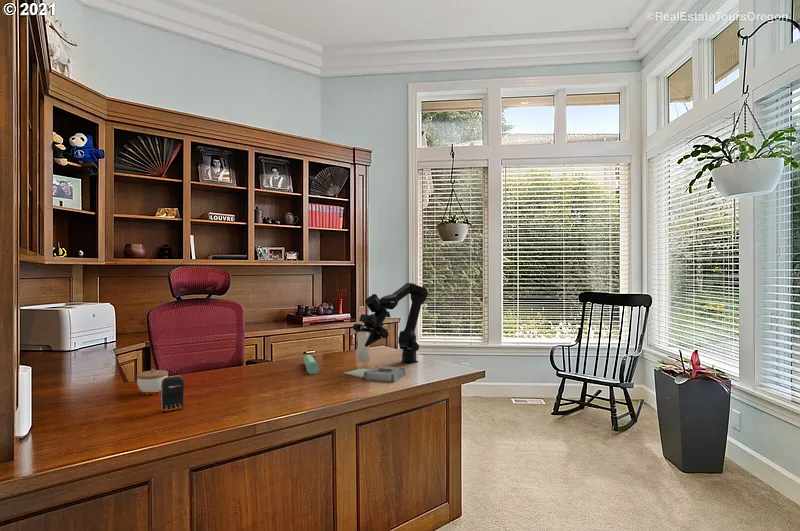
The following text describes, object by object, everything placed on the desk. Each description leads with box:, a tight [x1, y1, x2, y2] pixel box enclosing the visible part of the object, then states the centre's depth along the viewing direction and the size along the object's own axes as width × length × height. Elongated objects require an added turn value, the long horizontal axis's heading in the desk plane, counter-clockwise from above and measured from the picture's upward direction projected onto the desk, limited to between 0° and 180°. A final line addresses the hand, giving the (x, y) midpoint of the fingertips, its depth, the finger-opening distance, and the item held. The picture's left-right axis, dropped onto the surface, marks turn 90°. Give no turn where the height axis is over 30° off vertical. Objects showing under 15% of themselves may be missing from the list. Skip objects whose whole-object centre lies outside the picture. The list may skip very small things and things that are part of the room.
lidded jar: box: [136, 368, 169, 393], centre depth 182 cm, size 11×11×9 cm
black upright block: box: [160, 375, 185, 409], centre depth 160 cm, size 7×4×11 cm, turn 129°
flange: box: [363, 365, 406, 383], centre depth 206 cm, size 14×14×3 cm
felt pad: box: [343, 368, 370, 379], centre depth 213 cm, size 12×12×1 cm
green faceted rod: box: [303, 354, 320, 375], centre depth 225 cm, size 6×6×25 cm
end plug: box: [356, 331, 370, 363], centre depth 212 cm, size 5×5×13 cm
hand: (361, 345), depth 212 cm, fingers closed on end plug, 5 cm apart
